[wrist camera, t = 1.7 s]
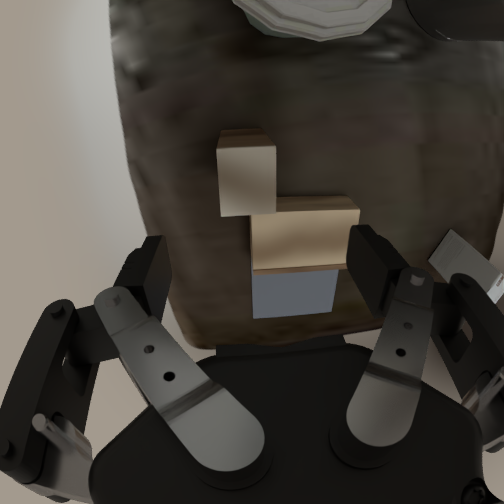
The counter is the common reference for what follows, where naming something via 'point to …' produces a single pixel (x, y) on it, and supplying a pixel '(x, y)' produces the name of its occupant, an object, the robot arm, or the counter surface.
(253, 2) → the disposable coffee cup
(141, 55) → the counter surface
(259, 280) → the rubber mat
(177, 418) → the robot arm
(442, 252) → the skincare box
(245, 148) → the walnut block
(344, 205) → the beech step
